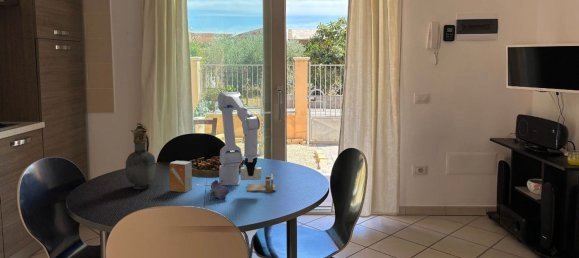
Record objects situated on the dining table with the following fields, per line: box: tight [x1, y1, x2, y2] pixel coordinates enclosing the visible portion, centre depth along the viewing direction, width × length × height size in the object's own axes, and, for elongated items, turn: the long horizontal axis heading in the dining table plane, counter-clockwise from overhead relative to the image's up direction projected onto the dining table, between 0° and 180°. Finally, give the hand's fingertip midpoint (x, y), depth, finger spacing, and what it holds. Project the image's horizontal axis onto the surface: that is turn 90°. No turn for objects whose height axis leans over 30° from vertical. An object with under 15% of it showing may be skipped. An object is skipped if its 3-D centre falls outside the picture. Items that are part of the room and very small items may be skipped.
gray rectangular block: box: [240, 166, 262, 181], centre depth 214 cm, size 9×4×5 cm, turn 92°
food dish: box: [190, 155, 246, 178], centre depth 263 cm, size 35×33×8 cm
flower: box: [208, 179, 230, 202], centre depth 208 cm, size 9×8×10 cm
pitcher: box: [125, 122, 157, 190], centre depth 226 cm, size 11×19×30 cm, turn 178°
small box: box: [168, 160, 193, 193], centre depth 221 cm, size 8×6×13 cm
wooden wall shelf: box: [246, 173, 276, 193], centre depth 225 cm, size 13×11×6 cm
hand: (251, 174), depth 214 cm, fingers closed on gray rectangular block, 3 cm apart
